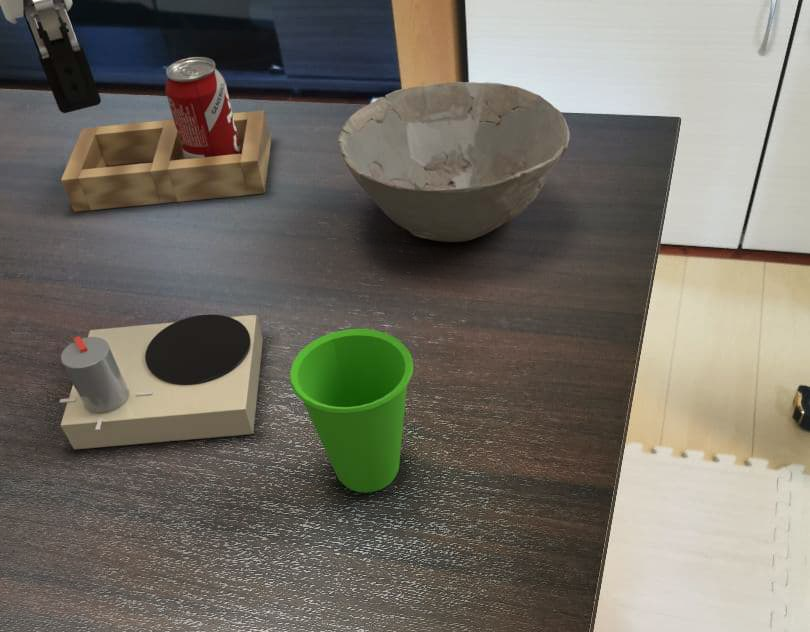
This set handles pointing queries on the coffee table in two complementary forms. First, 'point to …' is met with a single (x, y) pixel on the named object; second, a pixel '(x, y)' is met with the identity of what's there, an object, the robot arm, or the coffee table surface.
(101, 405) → the knob
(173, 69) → the soda can
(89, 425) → the hob
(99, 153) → the box
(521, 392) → the coffee table surface
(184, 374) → the burner
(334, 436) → the cup
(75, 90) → the robot arm
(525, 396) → the coffee table surface
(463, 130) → the ceramic bowl
